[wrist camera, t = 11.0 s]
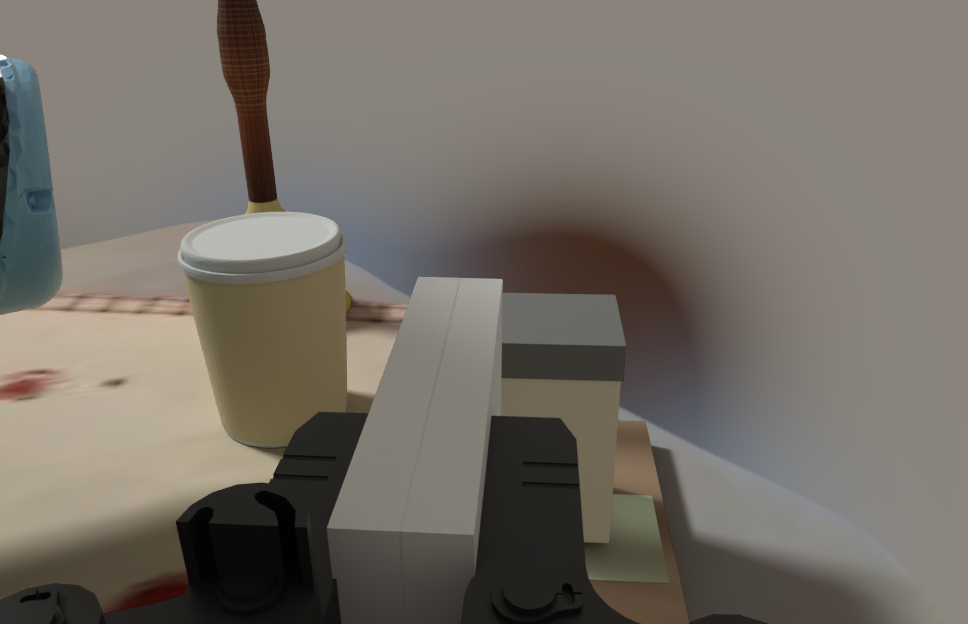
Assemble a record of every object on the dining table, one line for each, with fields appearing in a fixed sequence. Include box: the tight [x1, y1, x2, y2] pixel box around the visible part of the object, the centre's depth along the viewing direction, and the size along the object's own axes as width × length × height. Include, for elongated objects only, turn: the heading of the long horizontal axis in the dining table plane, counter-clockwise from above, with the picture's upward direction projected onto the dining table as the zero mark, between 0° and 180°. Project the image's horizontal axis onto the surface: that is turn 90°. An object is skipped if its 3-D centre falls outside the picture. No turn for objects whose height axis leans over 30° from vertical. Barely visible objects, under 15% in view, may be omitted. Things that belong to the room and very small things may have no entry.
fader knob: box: [501, 293, 626, 543], centre depth 35 cm, size 5×6×10 cm
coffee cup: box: [178, 212, 347, 448], centre depth 47 cm, size 9×9×12 cm
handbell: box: [217, 0, 351, 311], centre depth 60 cm, size 12×12×25 cm
